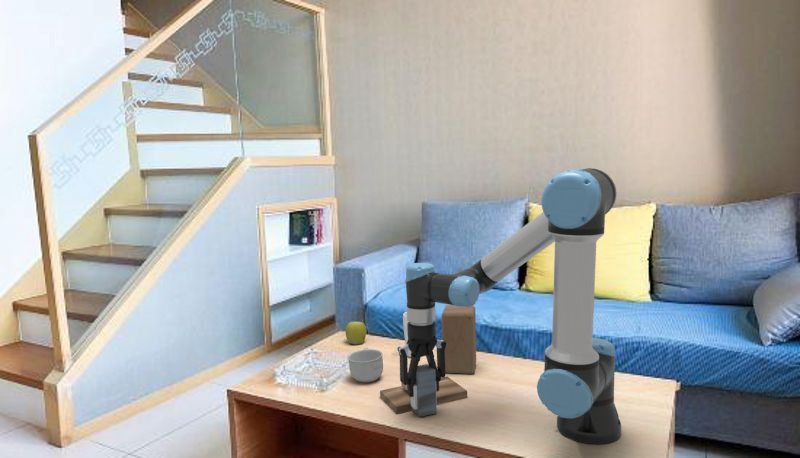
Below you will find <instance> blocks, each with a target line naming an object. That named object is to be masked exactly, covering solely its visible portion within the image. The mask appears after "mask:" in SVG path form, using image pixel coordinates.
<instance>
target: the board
mask: <svg viewBox="0 0 800 458" xmlns="http://www.w3.org/2000/svg"><path fill="white" fill-rule="evenodd" d="M436 394H437V405H441V404H445V403H450V402H454V401H459V400H463V399H467V398H468V390H467V389H465V388H464V387H463V386H462V385H460V384H458V383H457V382H456V381H454V380H453V379H452V378H450V377H449V376H448V375H447V376H446V375H445V377H441V381H440V382H439V391H437V392H436ZM379 395H380V396H379V397H380V399H381V400H382V401H384V403H386V404H387V406H388V407H389V408H390V409H391V410H392V411H393V412H394V413H395V414H397V415H399V414H402V413H407V412H411V411H413V410H412V406H411V397H409V396H408V394H407V390H406V389H405V388H404V387H403V386H402V385H399V386H395V387H389V388H386V389H381V390H379Z"/></svg>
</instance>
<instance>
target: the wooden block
mask: <svg viewBox="0 0 800 458" xmlns="http://www.w3.org/2000/svg"><path fill="white" fill-rule="evenodd" d="M476 323H477V321H476V307H475V305H473V306H471V307H465V306H462V307H459V306H455V305H449V304H445V306H444V308H443V311H442V313H441V340H443V341H445V342H446V347H445V374H462V375H463V374H466V375H472V374H474V373H475V369H476V365H477V332H476V331H477V329H476V328H477V325H476Z"/></svg>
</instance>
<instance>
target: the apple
mask: <svg viewBox="0 0 800 458" xmlns="http://www.w3.org/2000/svg"><path fill="white" fill-rule="evenodd" d="M352 320H353V321H349V323H347V325H346V327H345V337H346V340H347V342H348V343H349V344H350V345H359V344H363V343H364V342H365V340H366V338H367V337H366V336H367V327H366V325H365V323H364V322H363V321H362V322H361V321H356V320H355V319H354V318H353V317H352Z"/></svg>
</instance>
